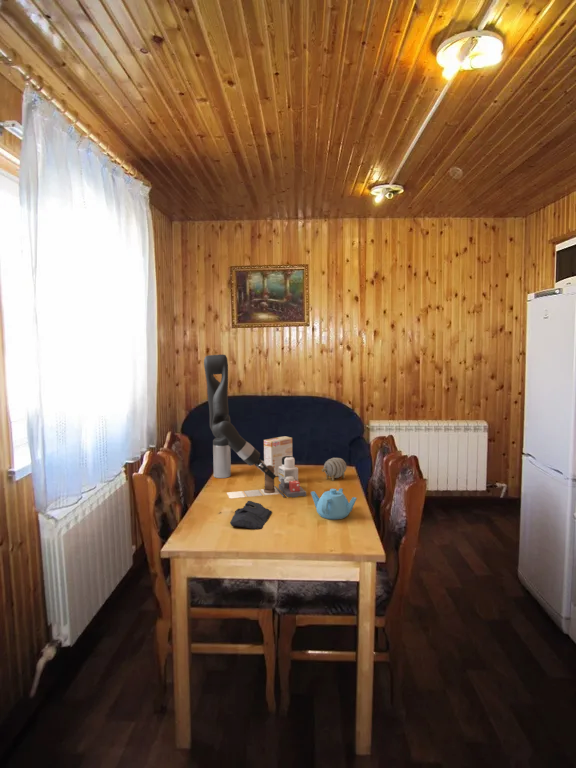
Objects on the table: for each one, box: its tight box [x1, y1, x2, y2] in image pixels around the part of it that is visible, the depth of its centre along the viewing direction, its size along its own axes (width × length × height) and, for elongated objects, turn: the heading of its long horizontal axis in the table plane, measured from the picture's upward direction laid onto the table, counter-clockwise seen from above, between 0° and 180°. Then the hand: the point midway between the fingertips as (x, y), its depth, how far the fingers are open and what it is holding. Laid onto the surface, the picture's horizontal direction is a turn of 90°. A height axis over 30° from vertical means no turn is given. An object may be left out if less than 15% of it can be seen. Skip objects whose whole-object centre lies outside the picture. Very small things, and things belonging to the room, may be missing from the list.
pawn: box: [264, 465, 276, 493], centre depth 228 cm, size 5×5×13 cm
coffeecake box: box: [263, 435, 293, 477], centre depth 263 cm, size 15×7×20 cm, turn 130°
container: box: [278, 455, 299, 483], centre depth 248 cm, size 8×8×13 cm
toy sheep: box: [321, 457, 348, 482], centre depth 253 cm, size 11×17×11 cm, turn 134°
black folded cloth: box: [229, 500, 273, 530], centre depth 196 cm, size 15×22×5 cm
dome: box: [284, 476, 295, 483], centre depth 235 cm, size 6×6×4 cm
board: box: [226, 485, 285, 499], centre depth 226 cm, size 16×26×1 cm, turn 106°
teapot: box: [310, 488, 357, 520], centre depth 201 cm, size 15×15×11 cm
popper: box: [278, 478, 307, 498], centre depth 231 cm, size 16×9×6 cm, turn 16°
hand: (272, 475), depth 228 cm, fingers open, 8 cm apart
